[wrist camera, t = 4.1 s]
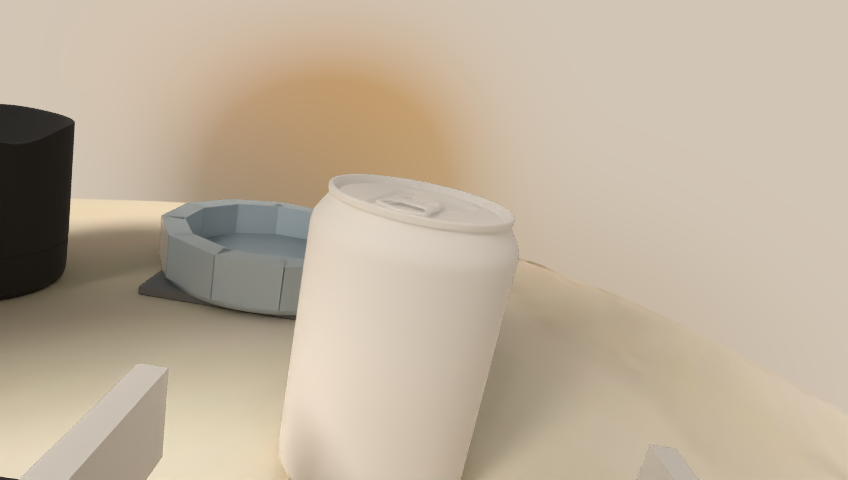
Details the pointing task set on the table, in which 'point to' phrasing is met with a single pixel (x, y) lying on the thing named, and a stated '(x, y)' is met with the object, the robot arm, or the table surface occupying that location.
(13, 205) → the pen holder
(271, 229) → the bowl
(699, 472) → the table surface
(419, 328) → the beverage can
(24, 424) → the table surface
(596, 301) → the table surface
